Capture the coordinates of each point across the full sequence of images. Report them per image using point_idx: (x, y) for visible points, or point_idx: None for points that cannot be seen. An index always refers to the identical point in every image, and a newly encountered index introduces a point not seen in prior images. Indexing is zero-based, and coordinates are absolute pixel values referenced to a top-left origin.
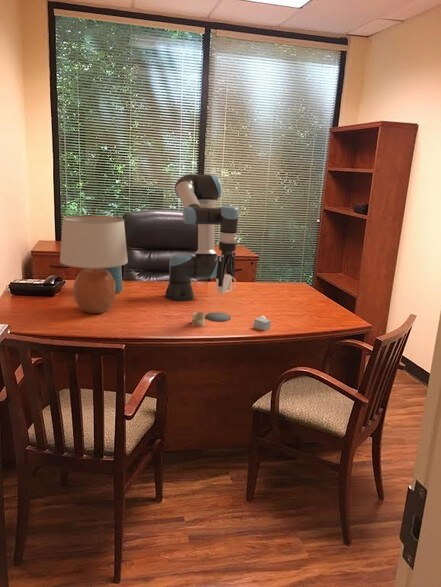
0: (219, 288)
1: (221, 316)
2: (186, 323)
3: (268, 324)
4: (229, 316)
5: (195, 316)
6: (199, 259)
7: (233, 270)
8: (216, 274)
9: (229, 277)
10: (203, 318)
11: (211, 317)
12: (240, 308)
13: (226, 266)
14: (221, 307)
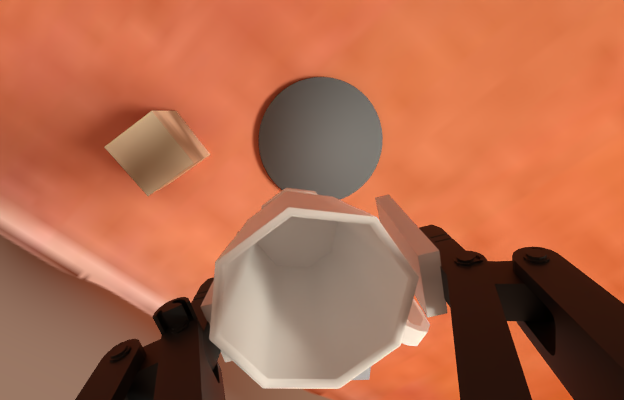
0: None
1: (329, 156)
2: (130, 104)
3: None
4: (358, 180)
5: (121, 160)
6: None
7: (534, 345)
8: (80, 394)
9: (327, 368)
10: (161, 187)
11: (279, 135)
12: (522, 117)
13: (458, 373)
14: (473, 34)
